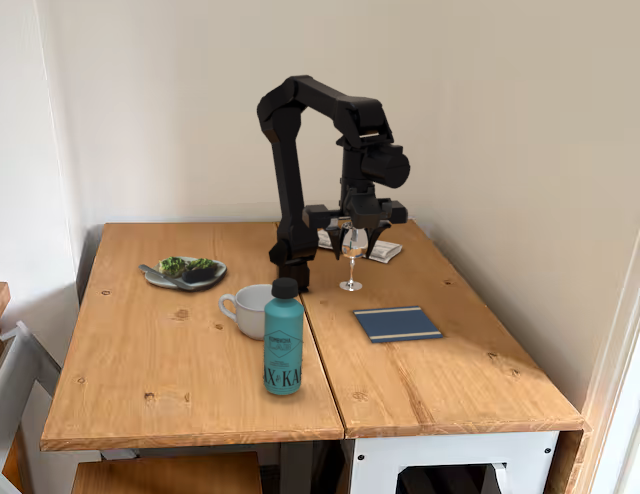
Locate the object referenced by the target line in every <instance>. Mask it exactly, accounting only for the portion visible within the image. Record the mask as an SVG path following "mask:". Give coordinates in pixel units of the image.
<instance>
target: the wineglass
mask: <svg viewBox="0 0 640 494" xmlns="http://www.w3.org/2000/svg"><path fill="white" fill-rule="evenodd" d="M340 229H341V232H340V255H342V257H344V258H346V259H349V263H348V264H349V269H350V274H349V280H345V281H341V282H339V285H338V286H339V288H340V289H342V290H345V291H358V290H361V289H362V288H363V284H362V283H360V282H359V281H356V280H355V281H354V279H353V276H354V275H353V273H354V268H355V265H356V261H355V260H356V259H361V258H362V257H363V256H364V255H365V254H366V252H367V250H368V247H369V234H368V228H363V229H356V228H354V227H353V225H352V221H346V222H343V223H342V224H341V226H340Z"/></svg>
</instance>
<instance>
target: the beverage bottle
mask: <svg viewBox="0 0 640 494" xmlns="http://www.w3.org/2000/svg"><path fill="white" fill-rule="evenodd" d="M271 285H272V290H271V295H272V296H273V297H275V298H274V299H272V300H271V301H269V302H268V303H267V304H266V305H265V307H264V312H265V318H264V336H263V339H264V340H263V345H262V357H263V374H262V380H263V386H264V388H265V390H266V391H268V392H269V393H271V394H274V395H278V396H280V395H281V396H285V395H291V394H295V393H296V392H298V391H299V390H300V388H301V386H302V383H303V382H302V381H303V378H302V375H303V368H304V366H303V362H304V361H303V360H304V358H303V352H304V348H303V347H304V318H305V317H304V316H305V314H304V313H305V307H304V305H303V304H302V303H301V302H300V301H299V300H297V299H296V298H297V297H298V296H299V293H298V283H297V281H296V280H294V279H292V278H278V279H276V278H275V279H273V280H272V282H271Z"/></svg>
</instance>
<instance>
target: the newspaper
mask: <svg viewBox="0 0 640 494" xmlns="http://www.w3.org/2000/svg"><path fill="white" fill-rule="evenodd" d="M318 236H319V239H320V241H319V247H321V248H325V249H331V250H333V248H332V245H331V241H330V238H329V236H328V233H327V232H325V231H324V230H323V229H320V230H318ZM402 248H403V244H401V243H400V244H399V243H395V242H389V241H384V240H379V239H377V241H376V244H375V246H374V248H373V250H372V252H371V255H370V257H369V258H368V259H370V260H374V261H378V262H381V263H383V264H388V262H389V261H390V260H391V259H392V258H393V257H395V256H396V255H398V254H399V253H400V252H402ZM362 257H363V258H366V257H365V255H364V256H362Z"/></svg>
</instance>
